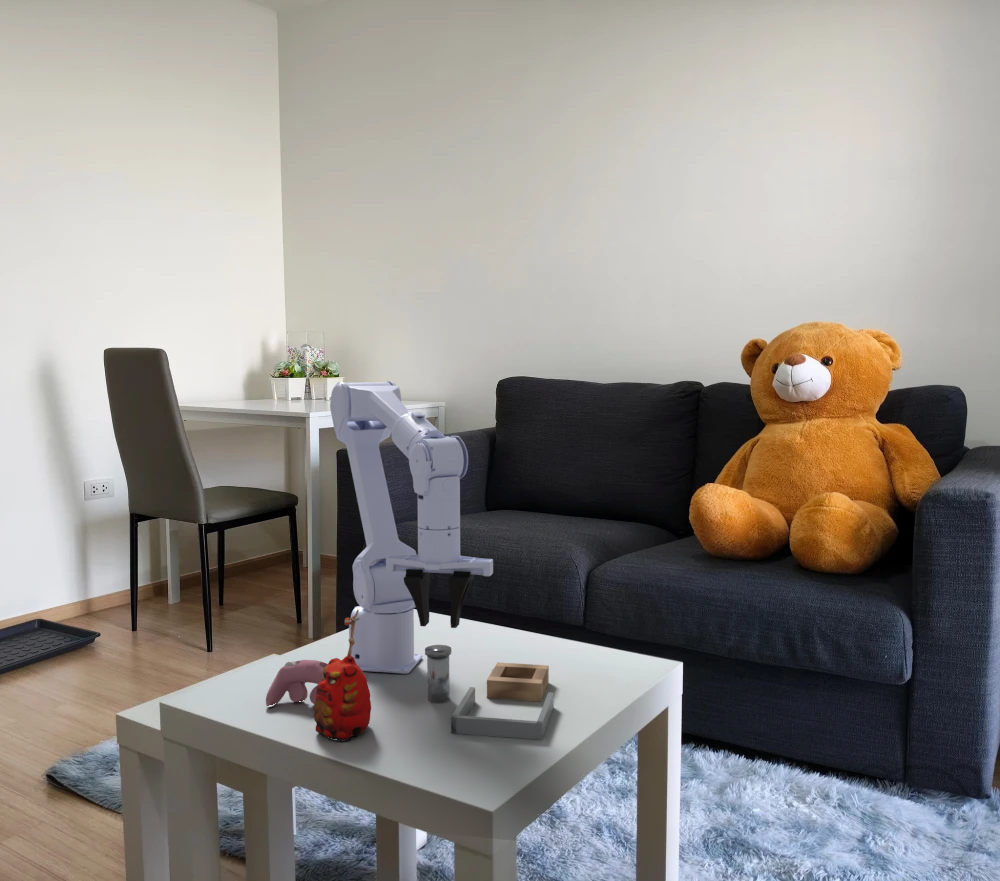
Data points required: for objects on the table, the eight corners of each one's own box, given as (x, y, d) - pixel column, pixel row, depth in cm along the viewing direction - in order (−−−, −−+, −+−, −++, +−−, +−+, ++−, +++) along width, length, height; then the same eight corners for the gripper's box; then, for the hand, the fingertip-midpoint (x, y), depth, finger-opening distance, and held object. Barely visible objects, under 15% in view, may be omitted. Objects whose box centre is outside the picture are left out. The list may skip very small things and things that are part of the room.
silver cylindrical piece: (422, 702, 122) (421, 652, 121) (430, 693, 125) (429, 644, 125) (447, 704, 121) (447, 653, 121) (454, 695, 125) (454, 645, 124)
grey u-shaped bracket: (451, 732, 112) (450, 717, 112) (470, 701, 122) (470, 687, 122) (541, 739, 110) (541, 723, 109) (553, 707, 120) (553, 692, 120)
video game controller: (342, 718, 120) (352, 665, 123) (326, 715, 116) (337, 660, 119) (277, 710, 124) (288, 658, 126) (260, 706, 120) (272, 653, 122)
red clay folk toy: (302, 730, 113) (300, 613, 111) (348, 715, 118) (346, 602, 116) (339, 748, 107) (336, 625, 106) (385, 731, 112) (383, 613, 111)
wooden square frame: (486, 697, 124) (486, 680, 123) (497, 679, 131) (497, 662, 131) (541, 701, 122) (541, 683, 122) (548, 682, 130) (548, 665, 129)
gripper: (378, 530, 119) (379, 630, 120) (485, 533, 116) (485, 636, 117) (394, 521, 126) (395, 616, 127) (496, 524, 123) (496, 621, 124)
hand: (439, 625), depth 123 cm, fingers open, 4 cm apart
